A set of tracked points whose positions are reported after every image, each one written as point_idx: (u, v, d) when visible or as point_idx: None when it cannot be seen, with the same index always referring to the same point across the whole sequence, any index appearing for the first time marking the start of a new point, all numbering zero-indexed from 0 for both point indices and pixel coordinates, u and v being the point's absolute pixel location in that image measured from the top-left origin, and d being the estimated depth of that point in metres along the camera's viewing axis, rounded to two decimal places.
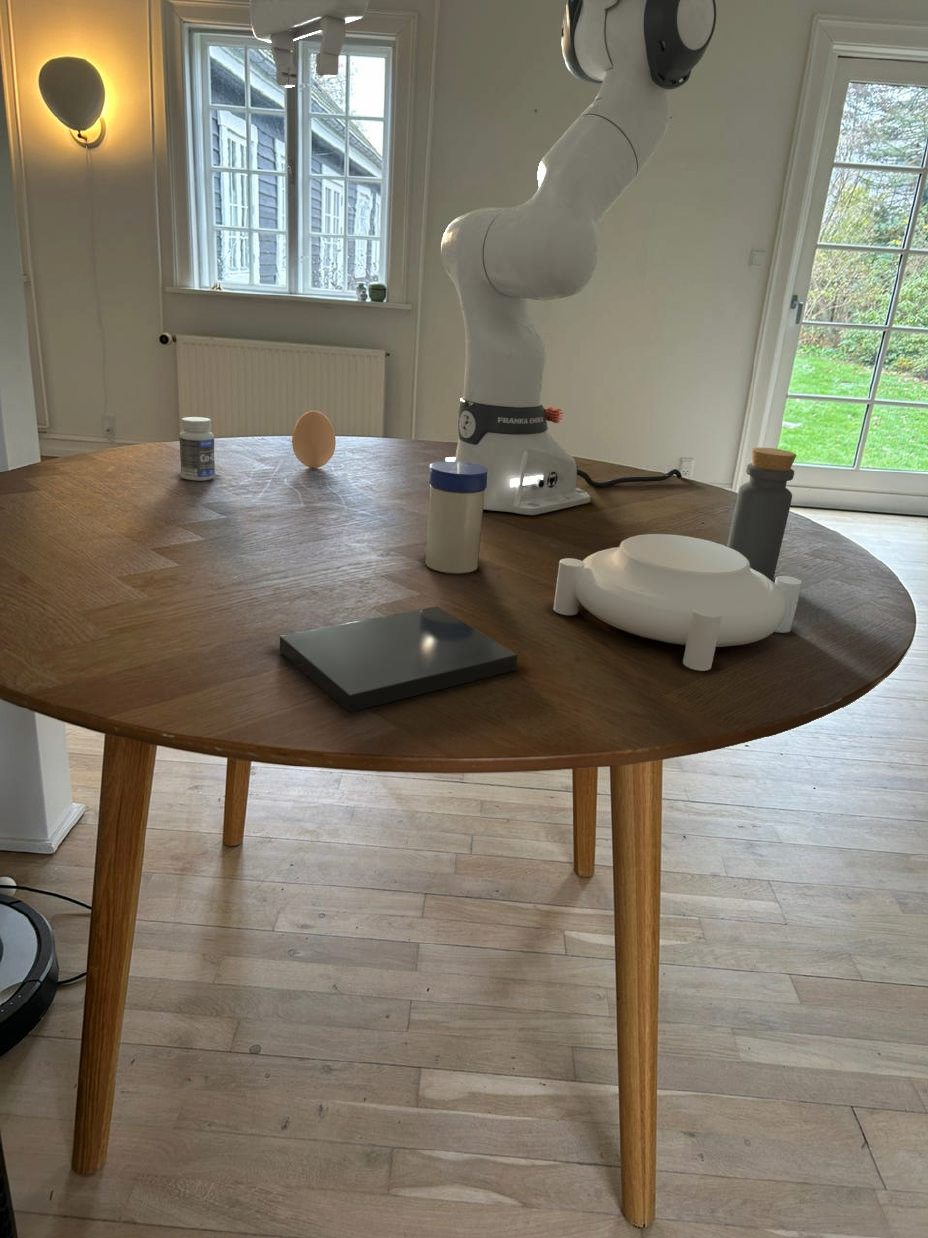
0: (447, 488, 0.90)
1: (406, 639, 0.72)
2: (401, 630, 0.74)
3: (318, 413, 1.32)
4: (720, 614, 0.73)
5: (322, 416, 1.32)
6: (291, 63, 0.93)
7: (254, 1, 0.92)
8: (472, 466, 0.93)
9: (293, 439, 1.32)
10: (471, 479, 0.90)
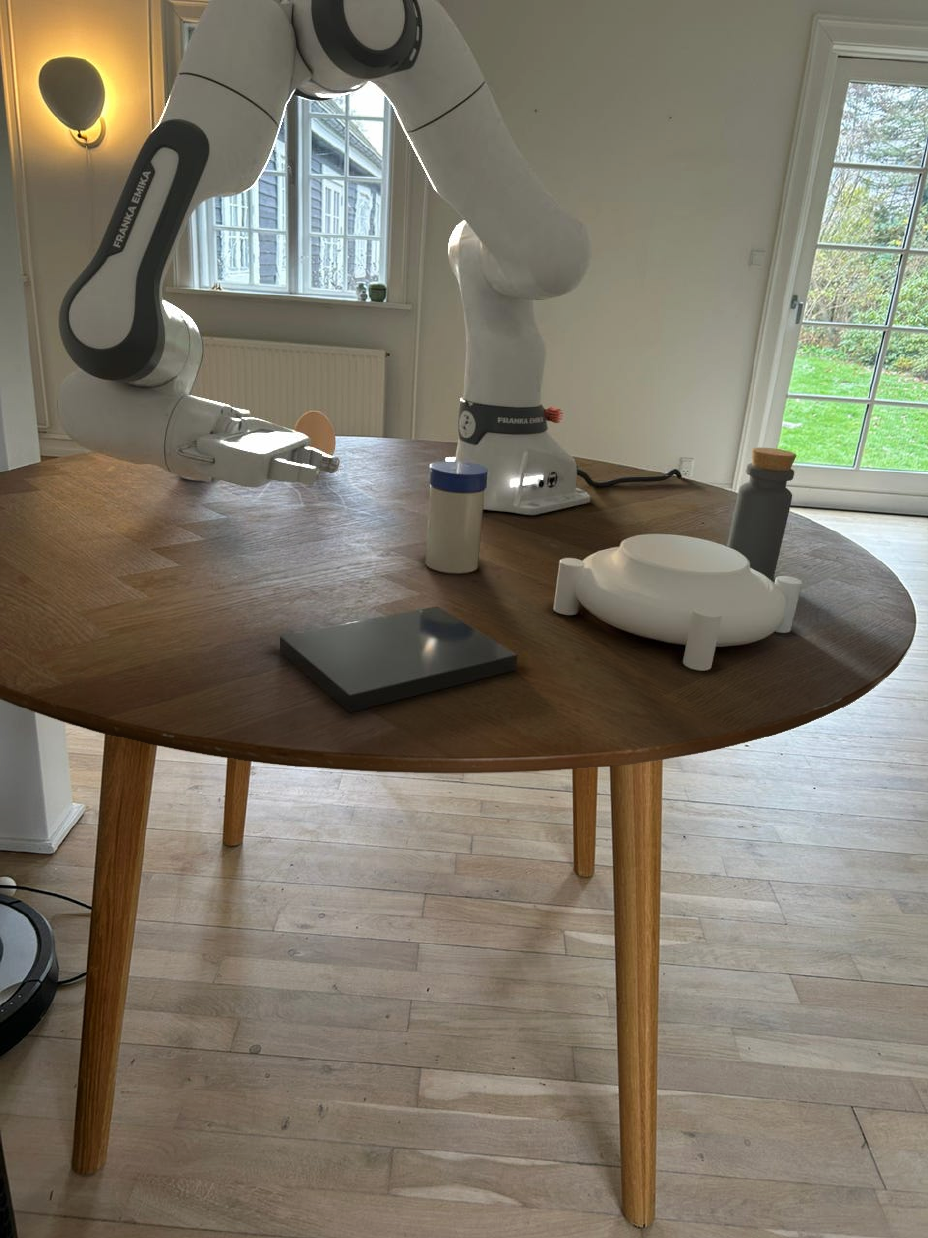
0: (447, 488, 0.90)
1: (406, 639, 0.72)
2: (401, 630, 0.74)
3: (318, 413, 1.32)
4: (720, 614, 0.73)
5: (322, 416, 1.32)
6: (320, 454, 0.99)
7: None
8: (472, 466, 0.93)
9: None
10: (471, 479, 0.90)
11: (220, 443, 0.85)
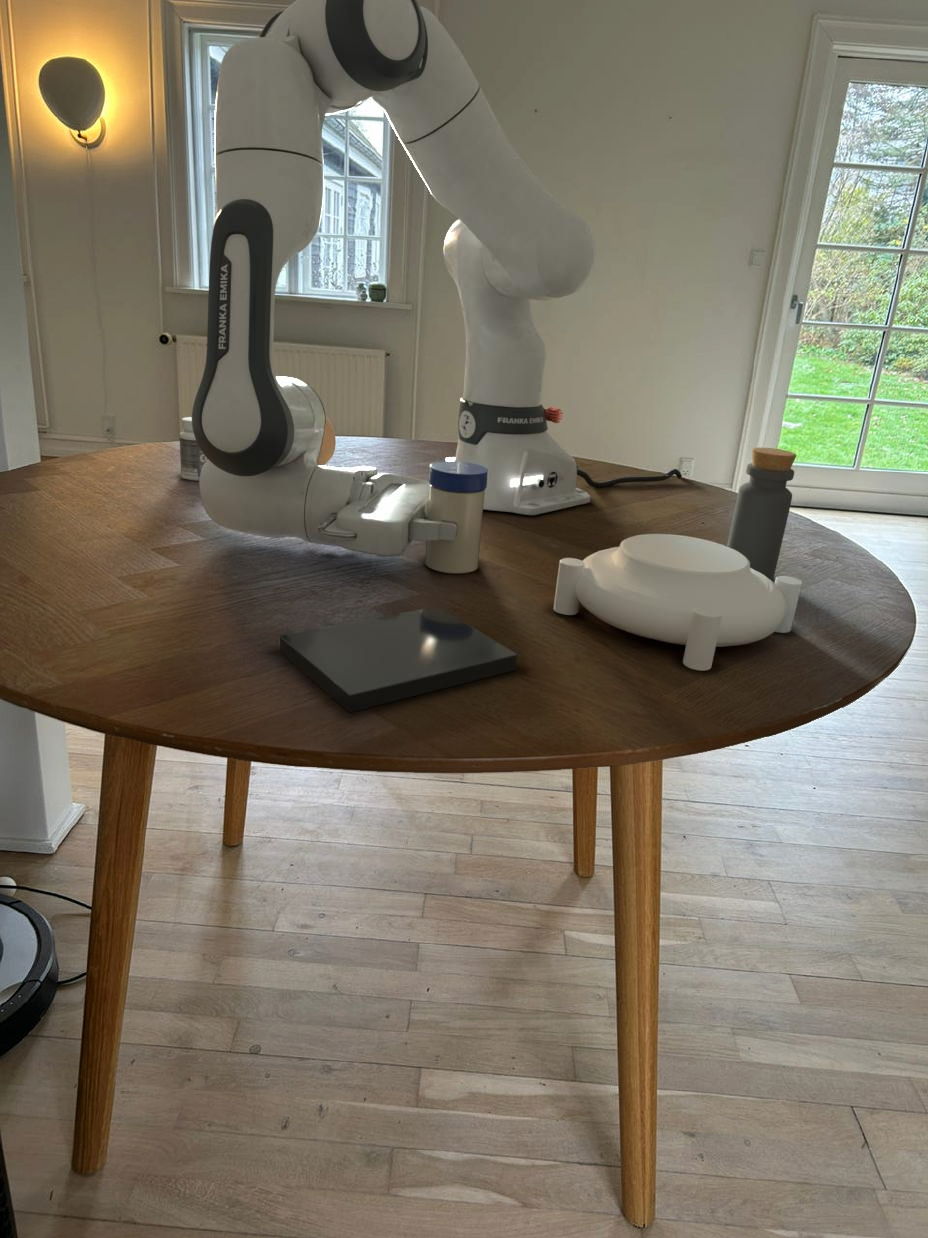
0: (447, 488, 0.90)
1: (406, 639, 0.72)
2: (401, 630, 0.74)
3: None
4: (720, 614, 0.73)
5: None
6: None
7: None
8: (472, 466, 0.93)
9: None
10: (471, 479, 0.90)
11: (359, 517, 0.87)
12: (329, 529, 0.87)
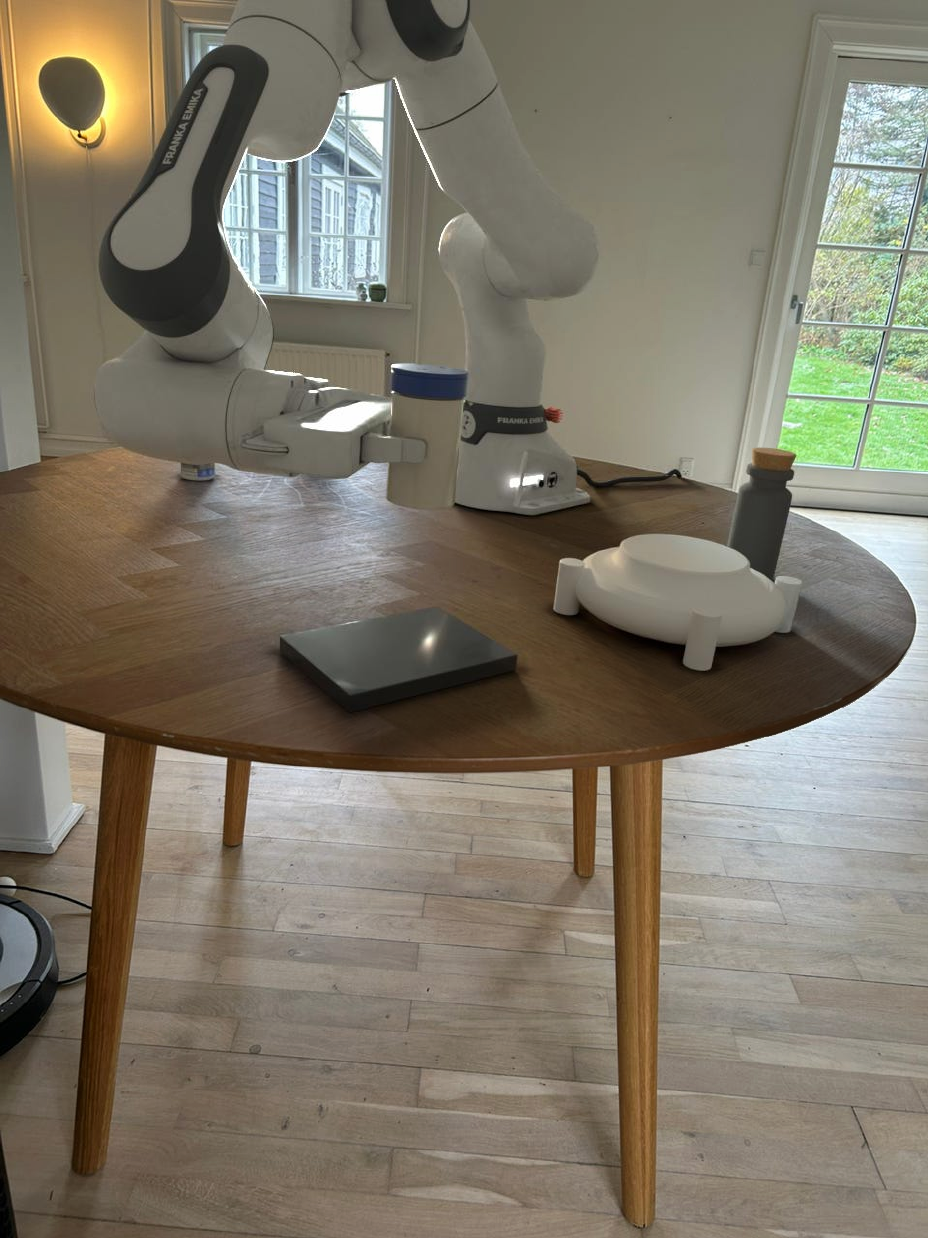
0: (413, 393, 0.68)
1: (406, 639, 0.72)
2: (401, 630, 0.74)
3: None
4: (720, 614, 0.73)
5: None
6: None
7: None
8: (448, 369, 0.71)
9: None
10: (445, 380, 0.67)
11: (293, 425, 0.64)
12: (252, 441, 0.64)
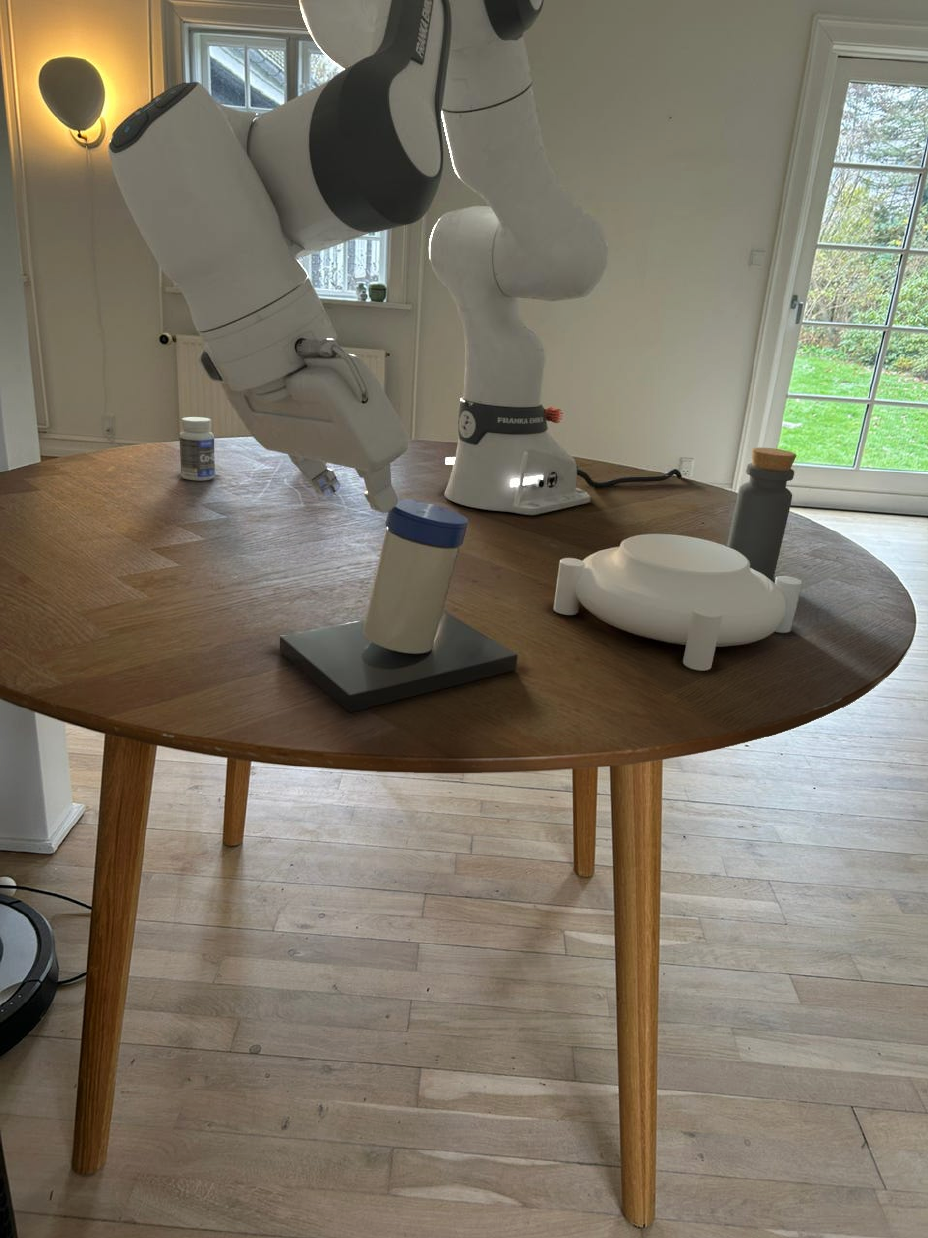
0: (409, 536, 0.65)
1: None
2: None
3: None
4: (720, 614, 0.73)
5: None
6: (322, 464, 0.72)
7: (247, 419, 0.71)
8: (447, 513, 0.69)
9: None
10: (444, 529, 0.65)
11: None
12: None
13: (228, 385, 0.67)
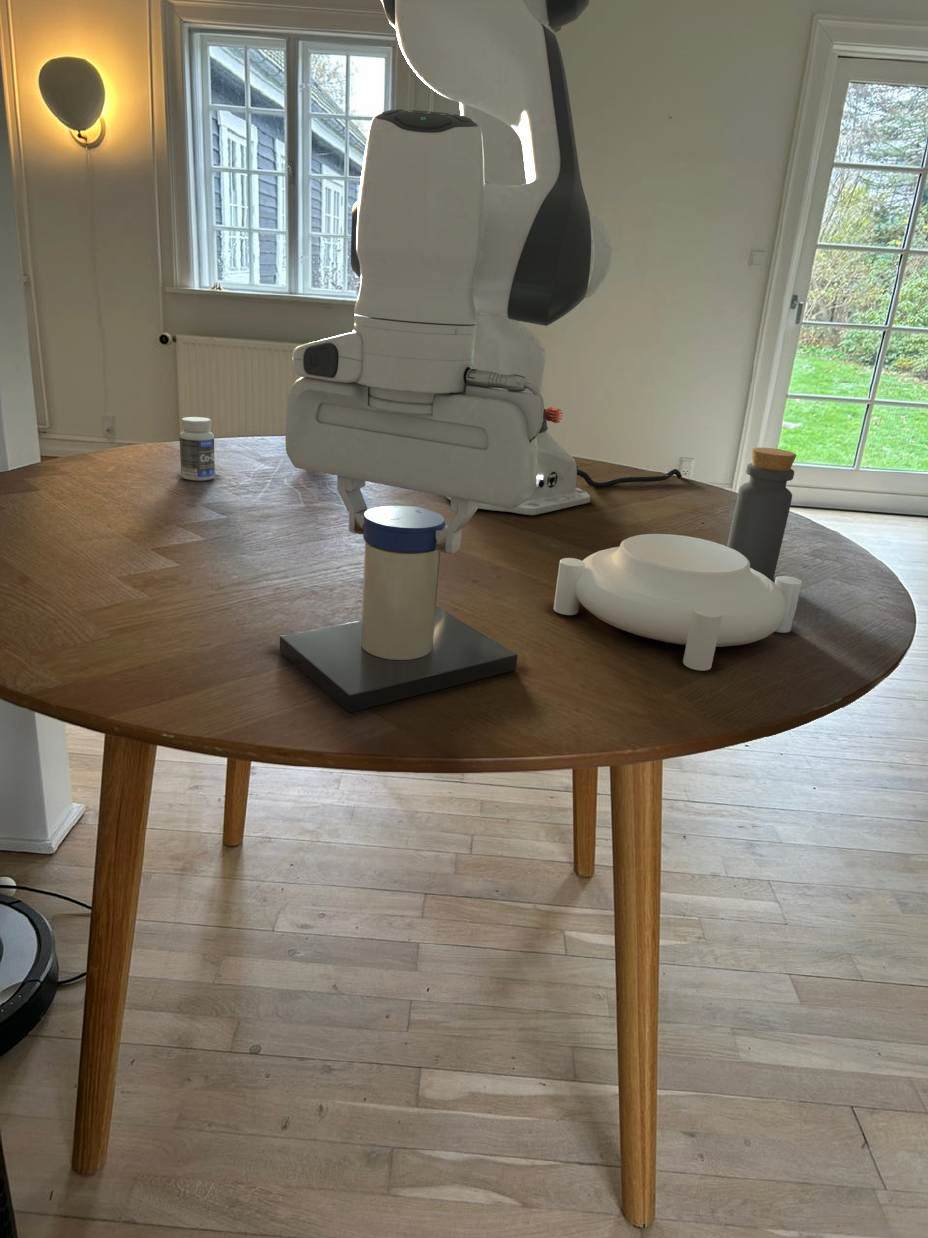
0: (386, 547, 0.65)
1: None
2: None
3: None
4: (720, 614, 0.73)
5: None
6: (363, 503, 0.69)
7: (299, 429, 0.66)
8: (423, 514, 0.68)
9: None
10: (419, 534, 0.64)
11: None
12: None
13: (323, 385, 0.63)
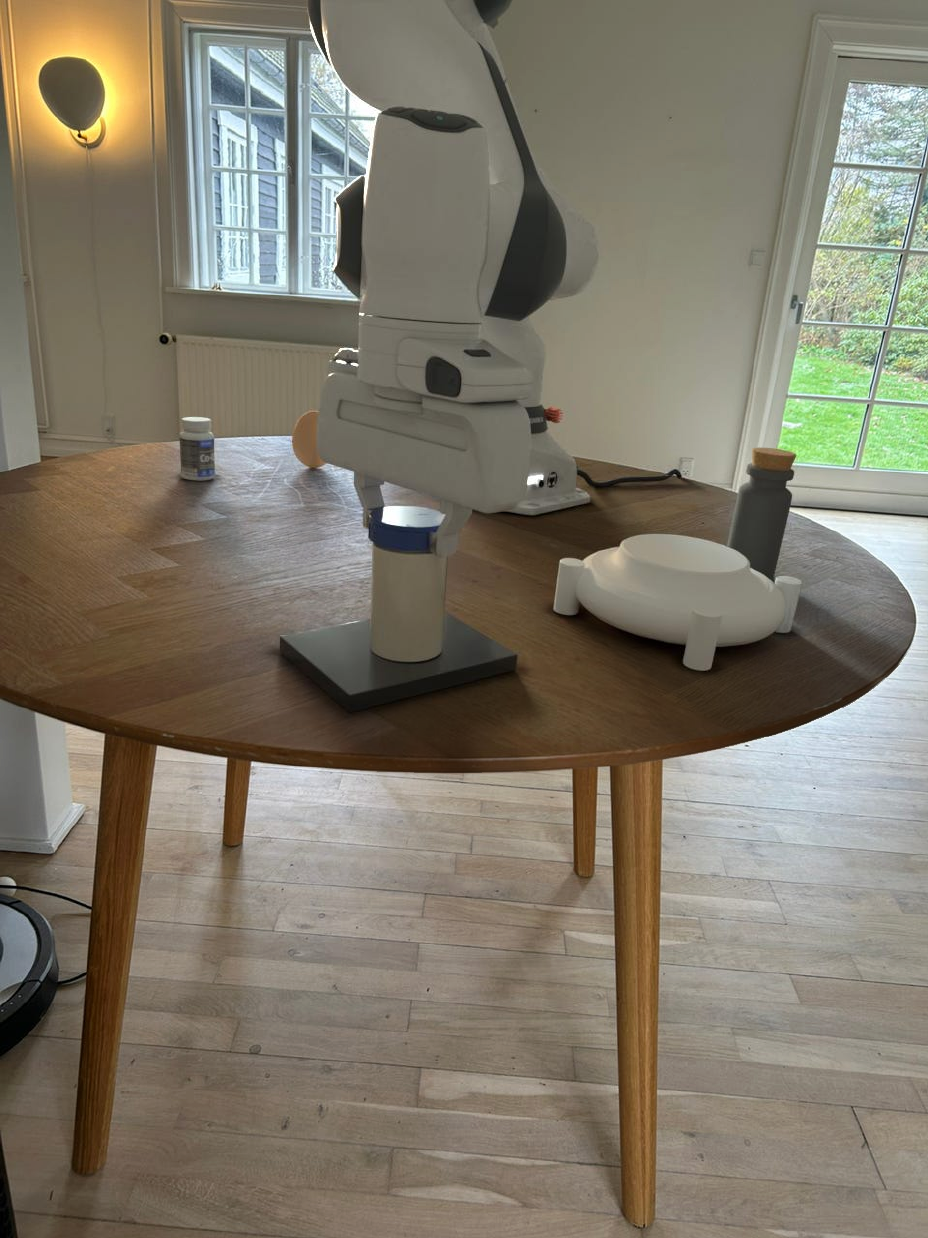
0: None
1: None
2: None
3: None
4: (720, 614, 0.73)
5: None
6: None
7: None
8: (387, 516, 0.66)
9: (293, 439, 1.32)
10: None
11: (322, 406, 0.68)
12: (329, 367, 0.69)
13: None
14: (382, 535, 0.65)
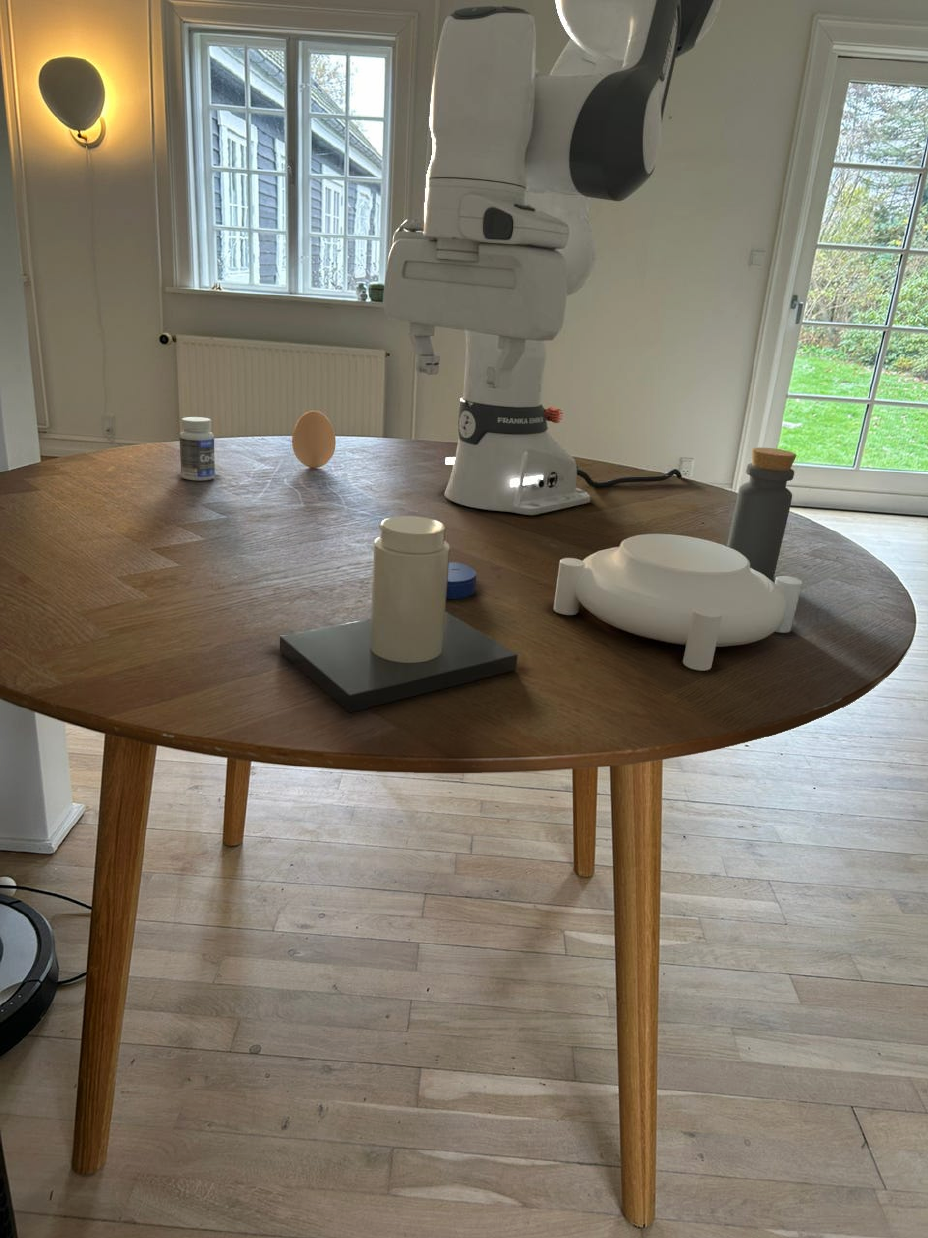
0: None
1: None
2: None
3: (318, 413, 1.32)
4: (720, 614, 0.73)
5: (322, 416, 1.32)
6: None
7: None
8: None
9: (293, 439, 1.32)
10: None
11: (389, 269, 0.82)
12: (395, 237, 0.82)
13: None
14: None
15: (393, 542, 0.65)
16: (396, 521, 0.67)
